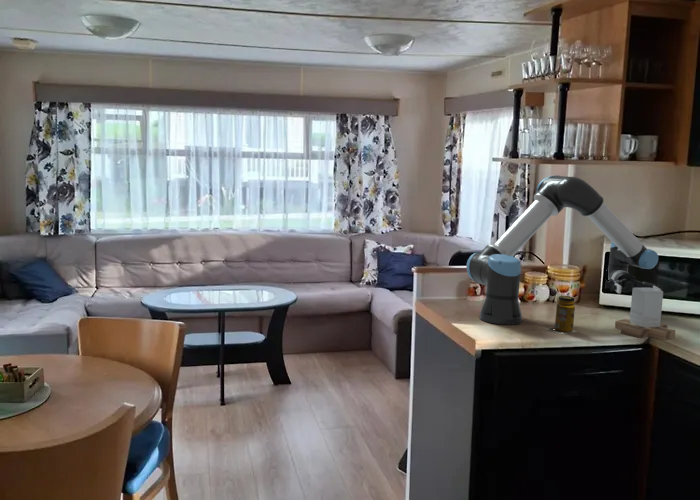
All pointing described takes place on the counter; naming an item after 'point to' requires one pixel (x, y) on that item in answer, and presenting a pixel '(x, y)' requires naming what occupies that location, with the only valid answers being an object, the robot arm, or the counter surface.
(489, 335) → the counter surface
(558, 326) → the condiment
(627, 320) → the cross stand
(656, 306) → the supplement box
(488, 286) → the robot arm
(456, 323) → the counter surface
